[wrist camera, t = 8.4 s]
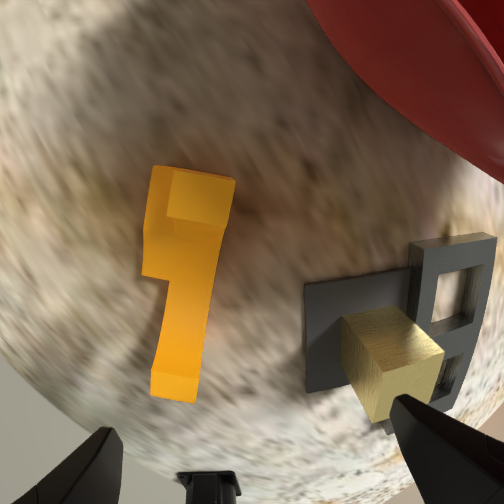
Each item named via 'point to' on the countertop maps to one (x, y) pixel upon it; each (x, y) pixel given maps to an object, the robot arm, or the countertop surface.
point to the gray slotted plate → (472, 312)
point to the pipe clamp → (183, 268)
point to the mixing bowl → (430, 66)
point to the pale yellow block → (387, 359)
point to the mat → (330, 318)
